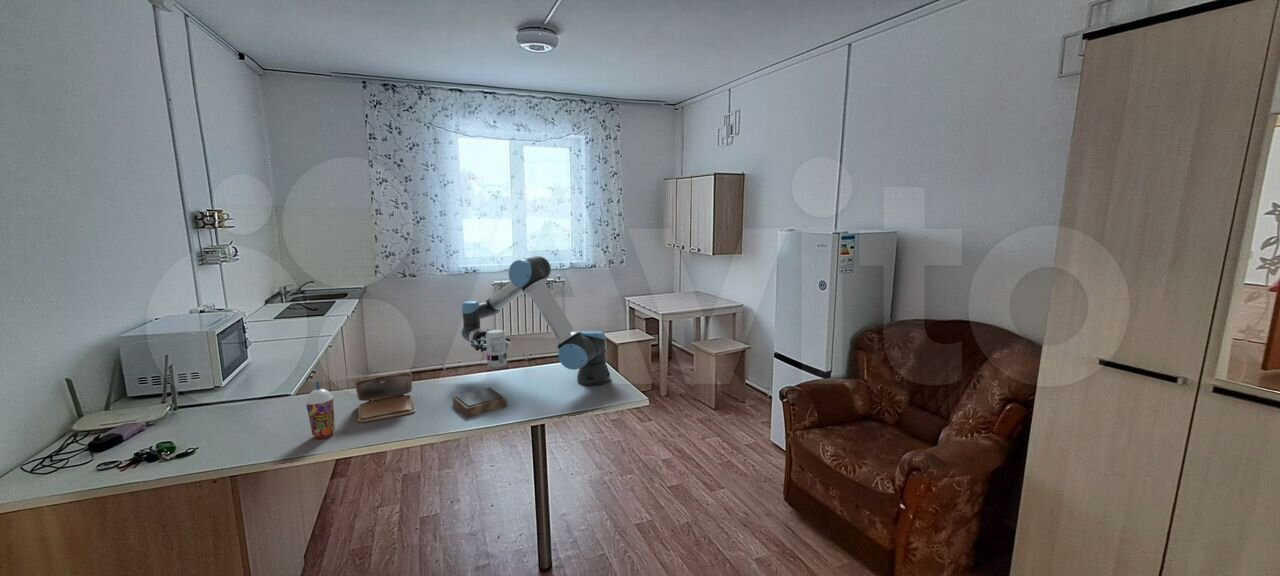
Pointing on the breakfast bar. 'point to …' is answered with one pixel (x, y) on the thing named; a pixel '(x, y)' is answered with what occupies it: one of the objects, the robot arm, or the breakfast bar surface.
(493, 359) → the supplement can
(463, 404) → the podium
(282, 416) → the breakfast bar surface
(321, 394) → the smoothie
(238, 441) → the breakfast bar surface
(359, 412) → the case
